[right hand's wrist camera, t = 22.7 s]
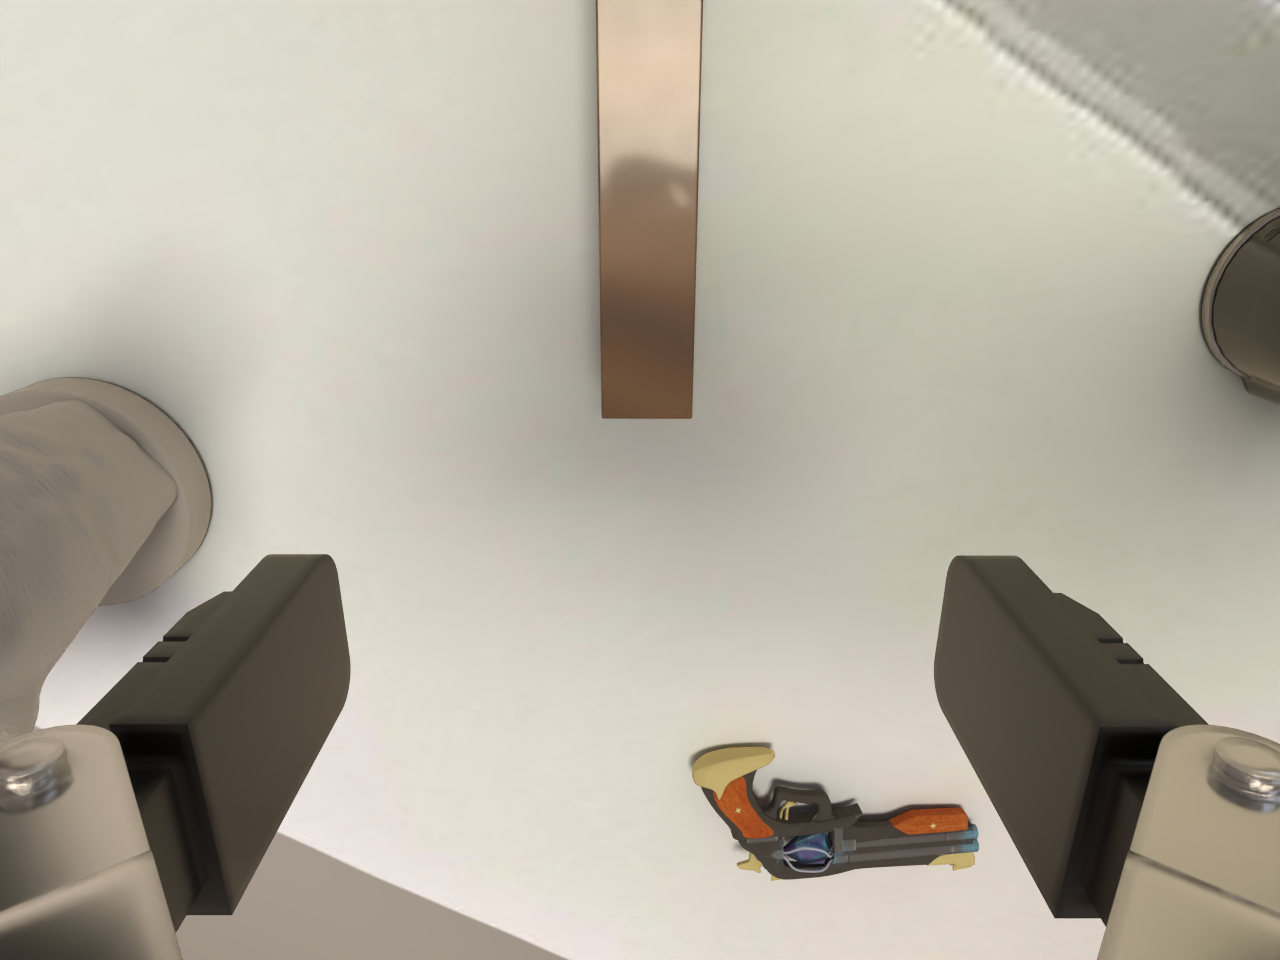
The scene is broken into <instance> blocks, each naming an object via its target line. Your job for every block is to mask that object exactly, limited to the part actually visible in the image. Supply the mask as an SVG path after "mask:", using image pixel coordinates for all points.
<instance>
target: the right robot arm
mask: <svg viewBox="0 0 1280 960" xmlns="http://www.w3.org/2000/svg"><path fill="white" fill-rule="evenodd" d="M1202 325H1203V331H1204V335H1205V339H1206V341H1207V344H1208V346H1209V348H1210V350H1211V351H1212V353H1213V354H1214V356H1215V357H1216V358H1217V360H1218V361H1219V362H1220V363H1221V364H1222V365H1224V366H1225V367H1226V368H1227V369H1229V370H1230V371H1232V372H1233V373H1236V374H1238V375H1240V376H1242V377H1243V378H1244V380H1245V383H1246V389H1247V391H1248V392H1249V393H1252V394H1254V395H1257V396H1259V397H1262V398H1264V399H1267V400H1269V401H1272V402H1274V403H1277V404H1279V405H1280V208H1279V209H1277V210H1275V211H1273V212H1271V213H1269V214H1267V215H1265V216H1264V217H1262V218H1260V219H1259V220H1257V221H1256V222H1254V223H1253V224H1252V225H1250V226H1249V227H1248V228H1247V229H1245V230H1244V231H1243V232H1242V233H1241V234H1240V235H1239V236H1238V237H1237V238H1236V239H1235V240H1234V241H1233V242H1232V243H1231V244H1230V246H1229V247H1228V248H1227V249H1226V251H1225V252H1224V253H1223V255H1222V256H1221V258H1220V259H1219V261H1218V262H1217V264H1216V266H1215V268H1214V270H1213V272H1212V274H1211V276H1210V278H1209V281H1208V284H1207V286H1206V290H1205V294H1204V298H1203V304H1202ZM934 680H935V688H936V693H937V698H938V701H939V704H940V707H941V709H942V711H943V713H944V715H945V717H946V719H947V721H948V722H949V724H950V726H951V728H952V730H953V732H954V733H955V735H956V737H957V739H958V741H959V743H960V744H961V746H962V748H963V750H964V752H965V754H966V756H967V757H968V759H969V761H970V763H971V765H972V767H973V768H974V770H975V772H976V774H977V776H978V778H979V779H980V781H981V783H982V785H983V787H984V789H985V791H986V792H987V794H988V796H989V798H990V800H991V802H992V803H993V805H994V807H995V809H996V811H997V813H998V815H999V816H1000V818H1001V820H1002V822H1003V824H1004V826H1005V827H1006V829H1007V831H1008V833H1009V835H1010V837H1011V838H1012V840H1013V842H1014V844H1015V846H1016V848H1017V850H1018V851H1019V853H1020V855H1021V857H1022V859H1023V861H1024V862H1025V864H1026V866H1027V868H1028V870H1029V872H1030V873H1031V875H1032V877H1033V879H1034V881H1035V883H1036V885H1037V886H1038V888H1039V890H1040V892H1041V894H1042V896H1043V897H1044V899H1045V901H1046V903H1047V905H1048V907H1049V909H1050V910H1051V912H1052V914H1053V916H1054V918H1101V919H1102V921H1103V923H1104V924H1105V926H1106V930H1105V933H1104V937H1103V940H1102V944H1101V947H1100V951H1099V954H1098V958H1097V960H1280V744H1278V743H1276V742H1274V741H1272V740H1269V739H1267V738H1264V737H1261V736H1258V735H1256V734H1253V733H1249V732H1245V731H1242V730H1238V729H1233V728H1228V727H1223V726H1215V725H1209V724H1208V723H1207V722H1206V721H1205V720H1204V719H1203V718H1202V717H1201V716H1200V715H1199V714H1198V713H1197V712H1196V711H1195V710H1194V709H1193V708H1192V707H1191V706H1190V705H1189V704H1188V703H1187V702H1186V701H1185V700H1184V699H1183V698H1182V697H1181V696H1180V695H1179V694H1178V693H1177V692H1176V691H1175V690H1174V689H1173V688H1172V687H1171V686H1170V685H1169V684H1168V683H1167V682H1166V681H1165V680H1164V679H1163V678H1162V677H1161V676H1160V675H1159V674H1158V673H1157V672H1156V671H1155V670H1154V669H1153V668H1152V667H1151V666H1150V665H1149V664H1144V663H1143V658H1142V657H1141V656H1140V655H1139V654H1138V653H1137V652H1136V651H1135V650H1134V649H1133V648H1132V647H1131V646H1130V645H1129V644H1128V643H1123V638H1122V637H1121V636H1120V635H1119V634H1118V633H1117V632H1116V631H1115V630H1114V629H1113V628H1112V627H1111V626H1110V625H1109V624H1108V623H1107V622H1106V621H1105V620H1104V619H1103V618H1102V617H1101V616H1100V615H1099V614H1098V613H1096V612H1094V611H1092V610H1091V609H1089V608H1087V607H1085V606H1083V605H1082V604H1080V603H1078V602H1076V601H1075V600H1073V599H1071V598H1069V597H1067V596H1066V595H1064V594H1062V593H1053V592H1052V591H1051V590H1050V589H1049V588H1048V587H1047V586H1046V585H1045V584H1044V583H1043V582H1042V581H1041V579H1040V578H1039V577H1038V576H1037V575H1036V574H1035V573H1034V572H1033V571H1032V570H1031V569H1030V568H1029V567H1028V566H1027V565H1026V563H1025V562H1024V561H1023V560H1022V559H1020V558H1019V557H1017V556H956V557H955V558H954V559H953V560H952V561H951V563H950V566H949V569H948V573H947V578H946V585H945V592H944V599H943V605H942V612H941V619H940V626H939V633H938V640H937V646H936V653H935V661H934ZM349 683H350V656H349V649H348V642H347V635H346V628H345V621H344V614H343V607H342V600H341V593H340V586H339V579H338V573H337V569H336V565H335V563H334V561H333V559H332V558H331V557H330V556H329V555H327V554H270V555H267V556H265V557H264V558H263V559H262V560H261V561H260V562H259V563H258V565H257V566H256V567H255V568H254V569H253V570H252V571H251V572H250V573H249V574H248V575H247V576H246V577H245V579H244V580H243V581H242V582H241V583H240V584H239V585H238V586H237V587H236V588H235V589H234V590H233V591H232V592H223V593H221V594H219V595H217V596H215V597H214V598H212V599H210V600H208V601H207V602H205V603H203V604H201V605H199V606H198V607H196V608H194V609H192V610H191V611H189V612H187V613H186V614H185V615H184V616H183V617H182V618H181V619H180V620H179V621H178V622H177V623H176V624H175V625H174V626H173V627H172V628H171V629H170V630H169V631H168V632H167V633H166V634H165V635H164V636H163V642H157V643H156V644H155V645H154V646H153V648H152V649H151V650H150V651H149V652H148V653H147V654H146V655H145V656H144V657H143V662H138V663H137V664H136V665H135V666H134V667H133V668H132V669H131V670H130V671H129V672H128V673H127V674H126V675H125V676H124V677H123V678H122V679H121V680H120V681H119V682H118V683H117V684H116V685H115V686H114V687H113V688H112V689H111V690H110V691H109V692H108V693H107V694H106V695H105V696H104V697H103V698H102V699H101V700H100V701H99V702H98V703H97V704H96V705H95V706H94V707H93V708H92V709H91V710H90V711H89V712H88V713H87V714H86V715H85V716H84V717H83V718H82V719H81V720H80V721H79V722H78V723H77V724H76V725H65V726H57V727H52V728H47V729H42V730H38V731H35V732H31V733H27V734H24V735H22V736H19V737H16V738H13V739H11V740H8V741H6V742H4V743H2V744H0V960H183V958H182V954H181V951H180V948H179V944H178V940H177V937H176V932H177V930H178V928H179V927H180V925H181V923H182V922H183V920H184V918H185V917H186V915H232V914H233V912H234V910H235V908H236V907H237V905H238V903H239V901H240V899H241V897H242V895H243V894H244V892H245V890H246V888H247V886H248V884H249V882H250V880H251V879H252V877H253V875H254V873H255V871H256V869H257V867H258V866H259V864H260V862H261V860H262V858H263V856H264V854H265V852H266V851H267V849H268V847H269V845H270V843H271V841H272V839H273V838H274V836H275V834H276V832H277V830H278V828H279V826H280V824H281V823H282V821H283V819H284V817H285V815H286V813H287V811H288V810H289V808H290V806H291V804H292V802H293V800H294V798H295V797H296V795H297V793H298V791H299V789H300V787H301V785H302V783H303V782H304V780H305V778H306V776H307V774H308V772H309V770H310V769H311V767H312V765H313V763H314V761H315V759H316V757H317V755H318V754H319V752H320V750H321V748H322V746H323V744H324V742H325V741H326V739H327V737H328V735H329V733H330V731H331V729H332V727H333V726H334V724H335V722H336V720H337V718H338V716H339V714H340V713H341V711H342V709H343V707H344V704H345V701H346V698H347V694H348V689H349Z"/></svg>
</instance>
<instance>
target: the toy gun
mask: <svg viewBox="0 0 1280 960" xmlns="http://www.w3.org/2000/svg"><path fill="white" fill-rule="evenodd" d="M774 756H775V753H774V750H772V749H769V748H767V747H732V748H725V749H719V750H715V751H711V752H708V753H706V754H704V755H702V756H701V757H700V758H698V759H697V760H696V761H695V763H694V764H693V767H692V775H693V780H694V782H695V783H696V784H697V785H698V786H701V788H702V790H703V792H704V794H705V796H706V798H707V799H708V801H709V802H710V804H711V806H712V807H713V808H714V810H715V811H716V812H717V813H718V815H719V816H720V817H721V818H722V819H723V820H724V821H725V823H726V824H727V825H728V826H729V828H730V829H731V833H732V836H733V838H734V839H736V840H738V841H739V843H740V845H741V846H742V847H743V848H745V849H746V850H748V851H749V852H750V855H749V859H748V860H745V861H742V862H739V863H737V866H738V867H739V868H740V869H744V870H754V871H756V872H758V873H760V872H761V870H760V867H761V866H763V867H764V868H765V869H766V870H767V871H768V872H769V873H770V874H771V880H772V881H774V880H779V879H801V878H813V877H822V876H829V875H834V874H838V873H842V872H846V871H850V870H854V869H860V868H873V867H890V866H908V865H941V864H950V865H953V871H954V870H959V869H963V868H968V867H972V865H974V863H975V856H974V853H973V852H978V850H979V843H978V841H977V838H978V830H977V827H976V825H975V824H971V823H970V822H968V816H967V814H966V813H965V812H964V810H963V809H962V808H936V809H917V810H909V811H907V812H905V813H903V814H900V815H898V816H896V817H893V818H891V819H889V820H888V821H880V822H856V821H857V820H858V818H859V817H860V816H861V815H862V811H861V809H860V807H859V805H858V804H857V803H856V804H853V805H850V806H848V807H845V808H842V809H837V810H832V805H831V802H830V800H829V798H828V796H827V794H826V793H825V792H824V791H823V790H819V789H817V790H797V789H791V788H786V787H782V786H776V787H775V788H774V793H773V798H772V801H771V802H770V804H769V805H767V806H765V807H763V806H762V805H761V804H760V803H759V802H758V800H757V799H756V797H755V795H754V793H753V791H752V784H753V779H754V775H755V773H756V771H757V769H759V768H761V767H764V766H766V765H768V764H769V763H770V762H771V761H772V760H773V758H774ZM783 800H787V801H786V802H785V804H784V805H783V806H782V808H781V810H780V813H779V814H777V808H778V806H779V804H780V803H781V801H783ZM796 802H799V803H816V806H815V808H814V809H813V811H812V812H811V813H801V814H788V812H789V808H790V807H791V806H794V805H797V803H796ZM785 808H786V809H785ZM784 809H785V815H782V813H783V810H784ZM826 832H828V835H827V834H826ZM791 836H796V837H795V838H793V839H792V840H791V841H790V842H789V843H788V844H787V845H785V846H784V847H783V840H784V838H785V837H791ZM831 846H833V848H831ZM828 853H829V854H828ZM784 854H786V855H788V856H790V857H791V858H793V859H794V860H796V861H789V860H788V859H787V857H785V856H784ZM827 856H828V857H827ZM784 859H785V860H784Z"/></svg>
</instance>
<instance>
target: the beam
mask: <svg viewBox="0 0 1280 960" xmlns="http://www.w3.org/2000/svg"><path fill="white" fill-rule="evenodd" d="M702 20H703V0H596V44H597V115H598V186H599V257H600V328H601V399H602V418H628V419H691V418H692V401H693V363H694V325H695V287H696V249H697V211H698V173H699V134H700V96H701V58H702Z"/></svg>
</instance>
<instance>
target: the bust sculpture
mask: <svg viewBox="0 0 1280 960" xmlns="http://www.w3.org/2000/svg"><path fill="white" fill-rule="evenodd" d="M210 513H211V496H210V488H209V483H208V479H207V476H206V473H205V470H204V467H203V465H202V462H201V460H200V458H199V456H198V454H197V453H196V451H195V449H194V447H193V446H192V444H191V443H190V441H189V440H188V439H187V437H186V436H185V435H184V433H183V432H182V431H181V430H180V429H179V428H178V426H177V425H176V424H175V423H174V422H173V421H172V420H171V419H170V418H169V417H167V416H166V415H165V414H164V413H163V412H162V411H160V410H159V409H158V408H157V407H155V406H154V405H152V404H151V403H149V402H148V401H146V400H145V399H143V398H141V397H140V396H138V395H136V394H134V393H132V392H130V391H128V390H126V389H123V388H121V387H118V386H115V385H112V384H109V383H106V382H102V381H98V380H92V379H86V378H56V379H50V380H45V381H41V382H38V383H35V384H32V385H30V386H27V387H24V388H22V389H19V390H17V391H14V392H11V393H9V394H6V395H4V396H1V397H0V744H2V743H4V742H6V741H8V740H11V739H13V738H16V737H19V736H22V735H24V734H27V733H31V732H33V729H34V725H35V722H36V720H37V716H38V711H39V695H40V692H41V688H42V685H43V683H44V681H45V679H46V677H47V675H48V673H49V672H50V671H51V669H52V668H53V666H54V665H55V663H56V662H57V661H58V660H59V658H60V657H61V656H62V654H63V653H64V651H65V650H66V649H67V648H68V646H69V645H70V643H71V642H72V641H73V639H74V638H75V636H76V635H77V633H78V632H79V630H80V629H81V628H82V626H83V625H84V624H85V622H86V621H87V619H88V618H89V617H90V615H91V614H92V613H93V611H94V610H95V608H96V607H97V606H103V605H114V604H120V603H125V602H129V601H132V600H135V599H138V598H140V597H142V596H144V595H146V594H148V593H150V592H152V591H153V590H155V589H156V588H158V587H159V586H160V585H162V584H163V583H164V582H165V581H166V580H167V579H168V578H169V577H171V576H172V575H173V574H174V573H175V572H176V571H177V570H178V569H179V568H180V567H182V566H183V565H184V564H185V563H186V562H187V561H188V560H189V559H190V558H191V557H192V556H193V555H194V553H195V552H196V551H197V549H198V548H199V546H200V545H201V543H202V541H203V539H204V537H205V534H206V532H207V528H208V525H209V520H210Z"/></svg>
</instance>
